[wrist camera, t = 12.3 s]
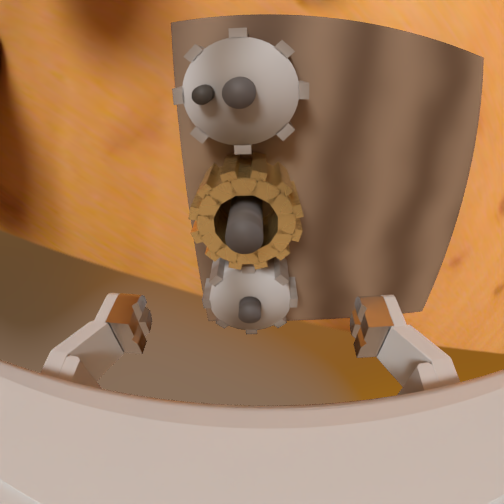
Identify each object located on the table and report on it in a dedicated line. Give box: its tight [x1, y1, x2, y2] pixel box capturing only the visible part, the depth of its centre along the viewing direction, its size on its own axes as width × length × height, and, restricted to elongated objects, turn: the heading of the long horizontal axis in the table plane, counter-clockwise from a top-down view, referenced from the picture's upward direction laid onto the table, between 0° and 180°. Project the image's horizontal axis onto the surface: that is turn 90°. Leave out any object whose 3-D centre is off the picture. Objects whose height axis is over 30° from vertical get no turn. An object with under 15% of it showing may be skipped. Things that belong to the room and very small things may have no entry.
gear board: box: [171, 15, 484, 334], centre depth 18 cm, size 21×24×7 cm
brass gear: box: [189, 152, 304, 270], centre depth 19 cm, size 6×6×4 cm
